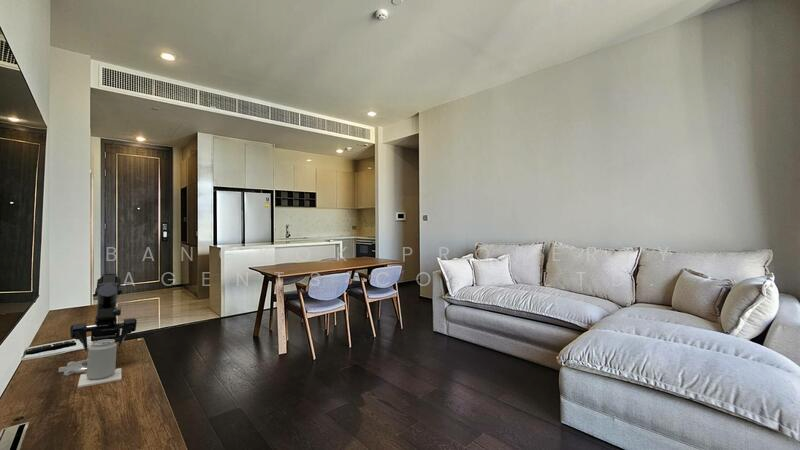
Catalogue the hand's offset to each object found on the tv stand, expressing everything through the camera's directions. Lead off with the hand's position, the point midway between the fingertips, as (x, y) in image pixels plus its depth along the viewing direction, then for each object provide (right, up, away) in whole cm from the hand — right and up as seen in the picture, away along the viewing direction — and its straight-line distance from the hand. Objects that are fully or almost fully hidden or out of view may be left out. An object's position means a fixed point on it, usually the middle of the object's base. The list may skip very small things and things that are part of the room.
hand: (103, 348), depth 124 cm
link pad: (+4, -8, -6) cm, 11 cm away
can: (+4, -8, -6) cm, 11 cm away
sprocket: (-8, -8, +3) cm, 12 cm away
